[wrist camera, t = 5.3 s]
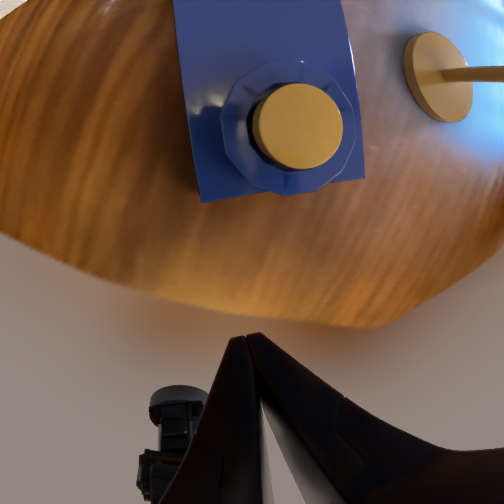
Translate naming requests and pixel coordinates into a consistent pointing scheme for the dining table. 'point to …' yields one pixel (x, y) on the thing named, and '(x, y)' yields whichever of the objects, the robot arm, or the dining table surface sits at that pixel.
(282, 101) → the lamp switch
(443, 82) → the table lamp
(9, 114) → the dining table surface
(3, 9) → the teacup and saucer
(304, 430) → the robot arm
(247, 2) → the switch base
